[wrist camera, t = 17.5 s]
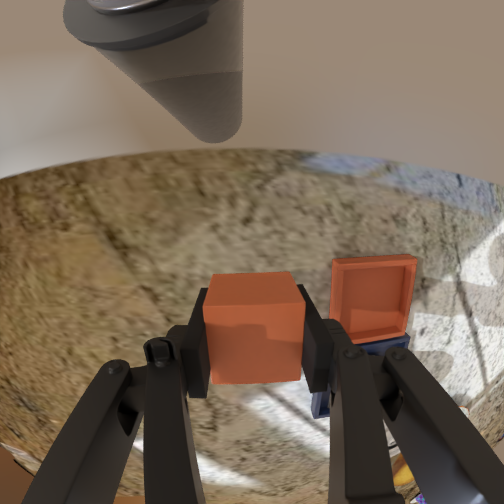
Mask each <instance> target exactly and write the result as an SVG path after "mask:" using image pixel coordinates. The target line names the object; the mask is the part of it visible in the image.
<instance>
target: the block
mask: <svg viewBox="0 0 504 504" xmlns="http://www.w3.org/2000/svg"><path fill="white" fill-rule="evenodd" d="M305 309H306V302H305V300H304V298H303V297H302V295H301V293H300V291H299V289H298V287H297V285H296V283H295V281H294V279H293V277H292V276H291V274H290V272H266V273H236V274H213V275H212V279H211V282H210V285H209V288H208V291H207V294H206V298H205V301H204V304H203V316H204V322H205V326H206V335H207V343H208V352H209V360H210V367H211V370H210V374H211V381H212V384H255V383H274V382H287V381H299V380H300V377H301V366H302V353H303V339H304V324H305Z"/></svg>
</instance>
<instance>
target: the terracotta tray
mask: <svg viewBox="0 0 504 504" xmlns="http://www.w3.org/2000/svg"><path fill="white" fill-rule="evenodd" d="M416 265H417V258H415V257H413V256H411V255H409V254H402V255H387V256H372V257H356V258H339V259H332V282H331V298H330V312H329V319H332V318H334V319H335V320H337V321H338V322H340V323H341V325H342V326H343V329H344V330H345V331H346V333H347V334H348V336H349V337H350V339H351V340H352V342H353V344H359V343H365V342H371V341H377V340H382V339H388V338H393V337H398V336H403V335H405V330H406V326H407V321H408V316H409V311H410V305H411V300H412V294H413V287H414V281H415V273H416Z"/></svg>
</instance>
